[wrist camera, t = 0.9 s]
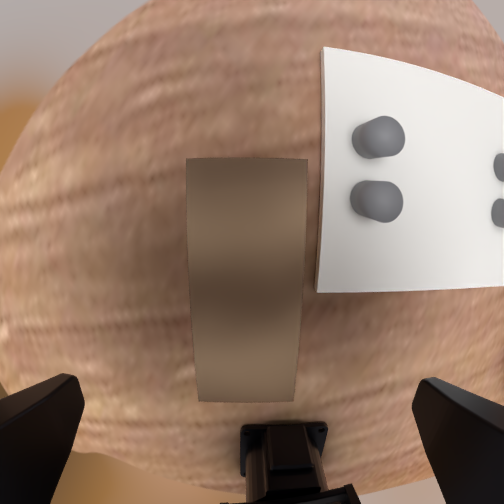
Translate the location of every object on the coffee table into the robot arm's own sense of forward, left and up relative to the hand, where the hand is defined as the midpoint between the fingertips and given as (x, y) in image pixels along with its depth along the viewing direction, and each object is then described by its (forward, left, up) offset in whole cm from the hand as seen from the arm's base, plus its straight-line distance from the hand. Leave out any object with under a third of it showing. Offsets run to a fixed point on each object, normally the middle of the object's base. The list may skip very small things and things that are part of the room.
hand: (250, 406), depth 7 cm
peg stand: (+6, -12, -11) cm, 18 cm away
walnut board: (0, 0, -12) cm, 12 cm away
